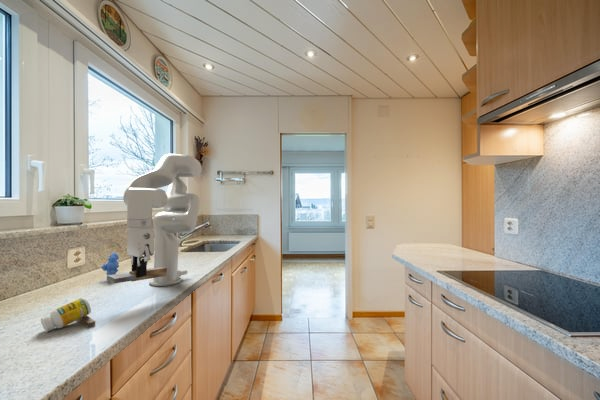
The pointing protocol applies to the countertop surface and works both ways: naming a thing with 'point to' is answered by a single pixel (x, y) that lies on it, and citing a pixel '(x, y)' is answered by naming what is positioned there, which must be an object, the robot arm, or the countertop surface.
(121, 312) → the countertop surface
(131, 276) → the turner
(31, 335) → the countertop surface
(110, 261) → the grapes
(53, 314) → the supplement bottle
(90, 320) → the stop strip
